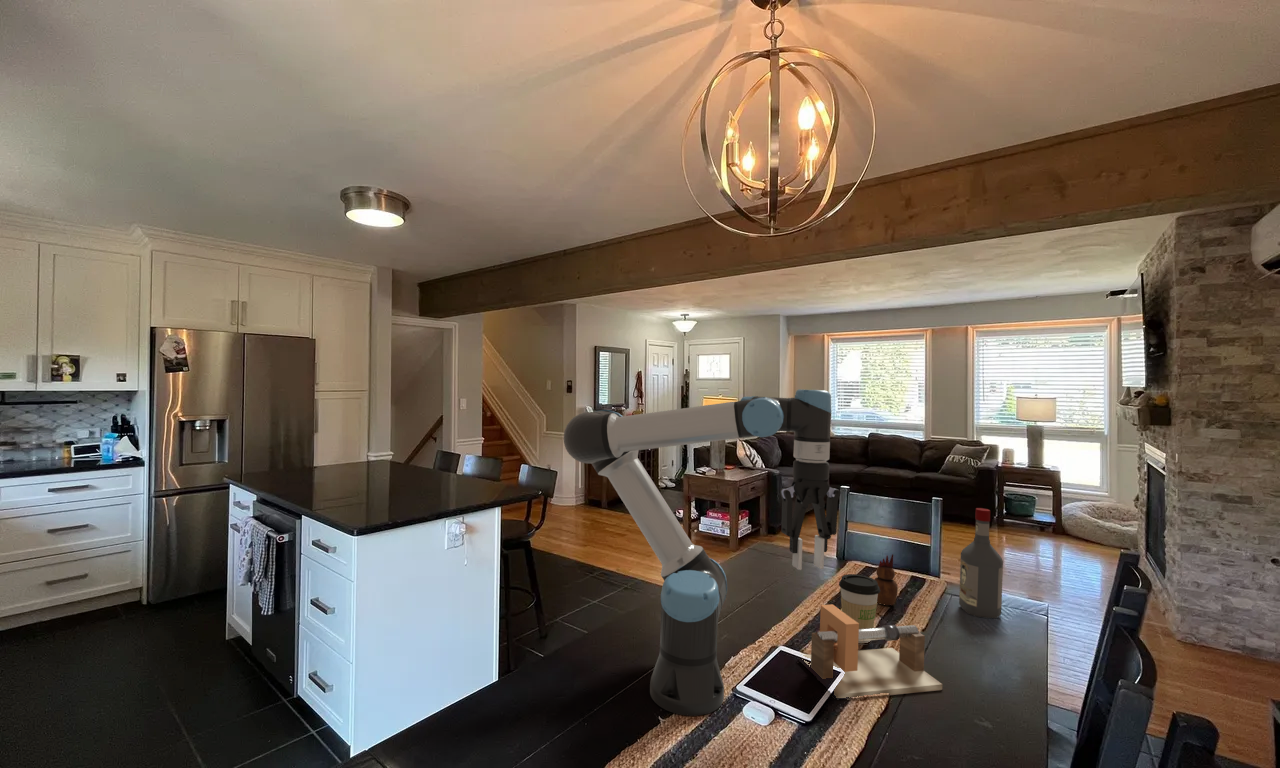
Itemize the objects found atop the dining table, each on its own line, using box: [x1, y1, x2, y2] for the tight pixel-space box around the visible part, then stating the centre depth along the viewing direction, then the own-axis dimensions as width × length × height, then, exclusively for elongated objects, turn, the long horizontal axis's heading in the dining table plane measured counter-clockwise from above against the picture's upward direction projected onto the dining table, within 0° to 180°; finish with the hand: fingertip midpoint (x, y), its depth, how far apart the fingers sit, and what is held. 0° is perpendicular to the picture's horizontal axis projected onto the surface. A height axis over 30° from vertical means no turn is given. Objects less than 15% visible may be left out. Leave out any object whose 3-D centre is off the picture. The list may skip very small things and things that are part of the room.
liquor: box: [958, 507, 1004, 620], centre depth 157 cm, size 9×9×30 cm
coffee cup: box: [838, 573, 880, 643], centre depth 137 cm, size 10×10×15 cm
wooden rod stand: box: [802, 631, 943, 698], centre depth 120 cm, size 25×16×9 cm, turn 102°
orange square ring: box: [819, 604, 859, 672], centre depth 118 cm, size 3×10×10 cm, turn 12°
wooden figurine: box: [873, 554, 899, 606], centre depth 161 cm, size 7×6×15 cm
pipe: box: [816, 624, 920, 643], centre depth 120 cm, size 24×3×3 cm, turn 102°
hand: (807, 567), depth 117 cm, fingers open, 4 cm apart
